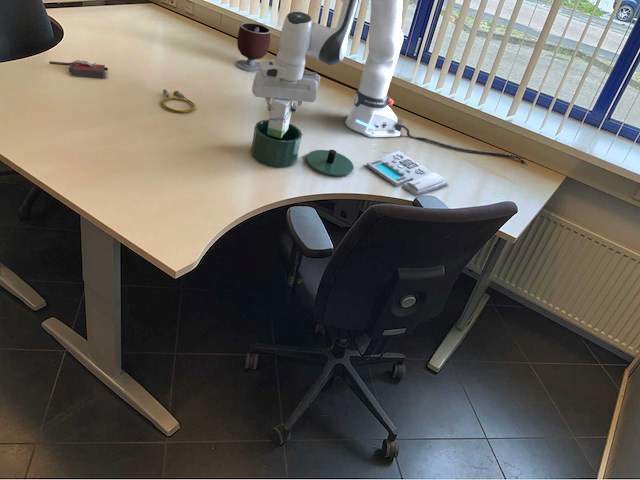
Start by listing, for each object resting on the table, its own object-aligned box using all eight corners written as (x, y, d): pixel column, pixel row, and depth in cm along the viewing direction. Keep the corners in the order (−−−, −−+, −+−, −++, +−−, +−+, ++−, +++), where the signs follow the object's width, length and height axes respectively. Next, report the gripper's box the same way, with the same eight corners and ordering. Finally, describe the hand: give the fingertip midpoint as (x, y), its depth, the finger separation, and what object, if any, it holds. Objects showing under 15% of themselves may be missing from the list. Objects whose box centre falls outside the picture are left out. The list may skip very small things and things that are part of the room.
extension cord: (196, 97, 206) (197, 92, 205) (193, 115, 194) (193, 110, 192) (163, 92, 204) (163, 87, 202) (157, 110, 191) (157, 105, 190)
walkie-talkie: (108, 70, 209) (49, 65, 201) (107, 58, 206) (48, 53, 199) (108, 79, 202) (48, 74, 195) (108, 67, 200) (47, 62, 192)
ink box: (280, 139, 174) (286, 104, 167) (266, 134, 175) (271, 100, 168) (288, 129, 181) (294, 95, 174) (274, 124, 182) (280, 91, 175)
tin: (290, 146, 191) (295, 121, 186) (300, 168, 180) (306, 143, 174) (247, 143, 186) (251, 117, 181) (255, 166, 175) (259, 140, 169)
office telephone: (449, 179, 192) (416, 192, 179) (447, 185, 193) (413, 198, 180) (400, 147, 203) (365, 157, 190) (398, 153, 205) (363, 164, 192)
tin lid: (344, 154, 195) (348, 141, 192) (358, 178, 183) (362, 165, 180) (301, 151, 190) (304, 138, 187) (312, 176, 178) (316, 162, 175)
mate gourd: (233, 58, 247) (239, 13, 235) (264, 63, 250) (271, 18, 239) (235, 71, 235) (241, 24, 223) (267, 76, 238) (274, 30, 227)
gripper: (319, 69, 172) (310, 109, 180) (254, 61, 165) (248, 103, 173) (324, 77, 167) (314, 118, 175) (258, 69, 160) (251, 113, 168)
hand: (281, 111), depth 174 cm, fingers closed on ink box, 6 cm apart
